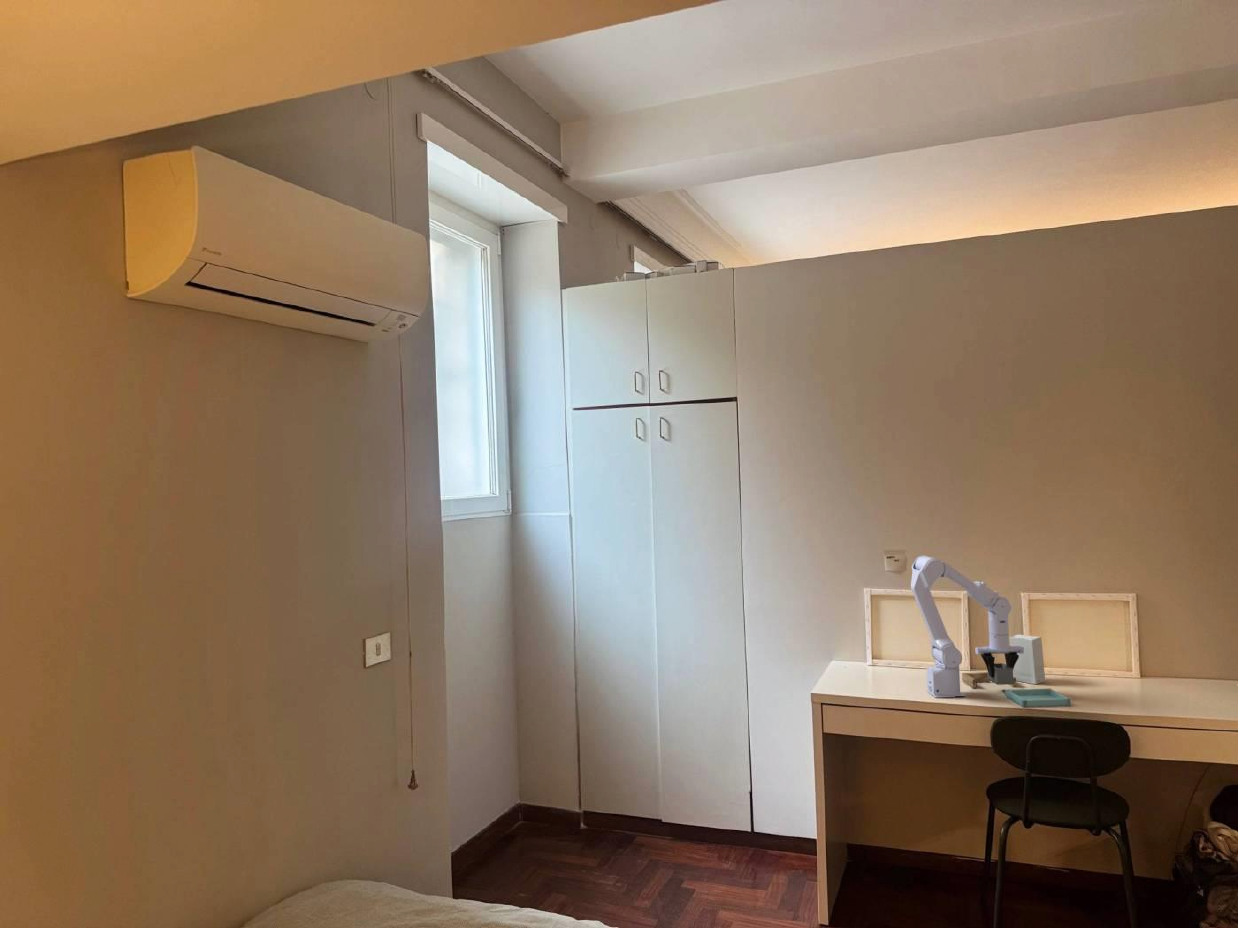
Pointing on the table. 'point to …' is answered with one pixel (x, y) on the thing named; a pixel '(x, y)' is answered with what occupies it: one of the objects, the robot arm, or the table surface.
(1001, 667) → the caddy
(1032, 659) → the skincare box
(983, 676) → the bay
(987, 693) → the table surface
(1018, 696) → the tray
